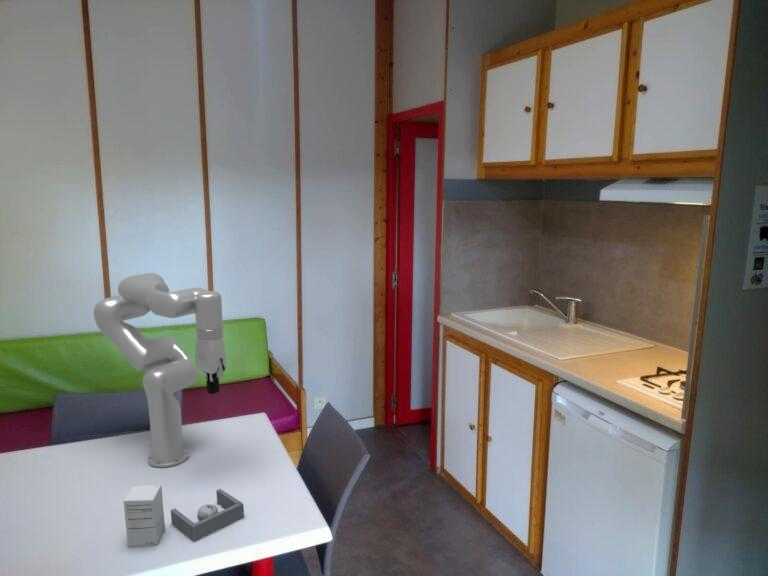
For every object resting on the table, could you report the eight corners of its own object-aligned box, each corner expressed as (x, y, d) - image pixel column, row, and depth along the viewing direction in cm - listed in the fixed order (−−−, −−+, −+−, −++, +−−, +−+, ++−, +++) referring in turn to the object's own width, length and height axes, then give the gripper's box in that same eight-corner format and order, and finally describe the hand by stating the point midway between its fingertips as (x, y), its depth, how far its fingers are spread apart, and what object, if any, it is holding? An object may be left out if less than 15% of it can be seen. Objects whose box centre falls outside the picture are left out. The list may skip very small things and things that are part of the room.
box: (171, 524, 154) (170, 510, 153) (220, 501, 164) (220, 488, 164) (193, 541, 146) (192, 527, 145) (243, 517, 157) (243, 503, 156)
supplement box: (136, 530, 151) (132, 485, 149) (165, 528, 152) (162, 484, 149) (126, 547, 144) (122, 500, 142) (157, 545, 144) (153, 499, 142)
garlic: (223, 522, 155) (222, 504, 154) (204, 530, 151) (203, 512, 150) (212, 513, 159) (211, 495, 158) (193, 521, 155) (192, 503, 154)
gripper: (185, 331, 173) (189, 389, 176) (212, 340, 163) (215, 402, 166) (208, 326, 178) (211, 383, 182) (235, 335, 168) (238, 395, 172)
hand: (213, 392), depth 174 cm, fingers closed
